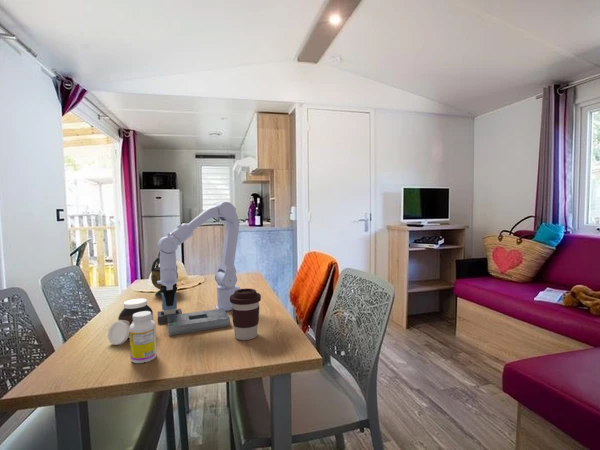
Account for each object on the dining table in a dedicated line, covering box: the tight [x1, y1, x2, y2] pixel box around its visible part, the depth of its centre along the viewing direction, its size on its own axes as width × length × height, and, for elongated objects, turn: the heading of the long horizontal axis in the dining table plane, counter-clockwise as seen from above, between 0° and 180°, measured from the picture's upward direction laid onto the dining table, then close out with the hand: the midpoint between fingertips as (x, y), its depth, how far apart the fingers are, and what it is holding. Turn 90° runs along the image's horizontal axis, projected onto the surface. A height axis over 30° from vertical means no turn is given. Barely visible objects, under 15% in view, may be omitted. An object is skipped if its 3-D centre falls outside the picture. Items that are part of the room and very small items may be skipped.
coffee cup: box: [230, 288, 262, 341], centre depth 105 cm, size 10×10×15 cm
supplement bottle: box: [129, 311, 158, 364], centre depth 90 cm, size 7×7×13 cm
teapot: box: [150, 250, 179, 298], centre depth 153 cm, size 12×25×23 cm, turn 18°
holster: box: [157, 308, 183, 324], centre depth 122 cm, size 8×6×2 cm
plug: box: [161, 292, 178, 315], centre depth 122 cm, size 5×3×8 cm, turn 114°
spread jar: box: [107, 297, 155, 346], centre depth 104 cm, size 12×11×12 cm
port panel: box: [167, 308, 231, 337], centre depth 116 cm, size 20×12×3 cm, turn 114°
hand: (169, 304), depth 122 cm, fingers closed on plug, 3 cm apart
